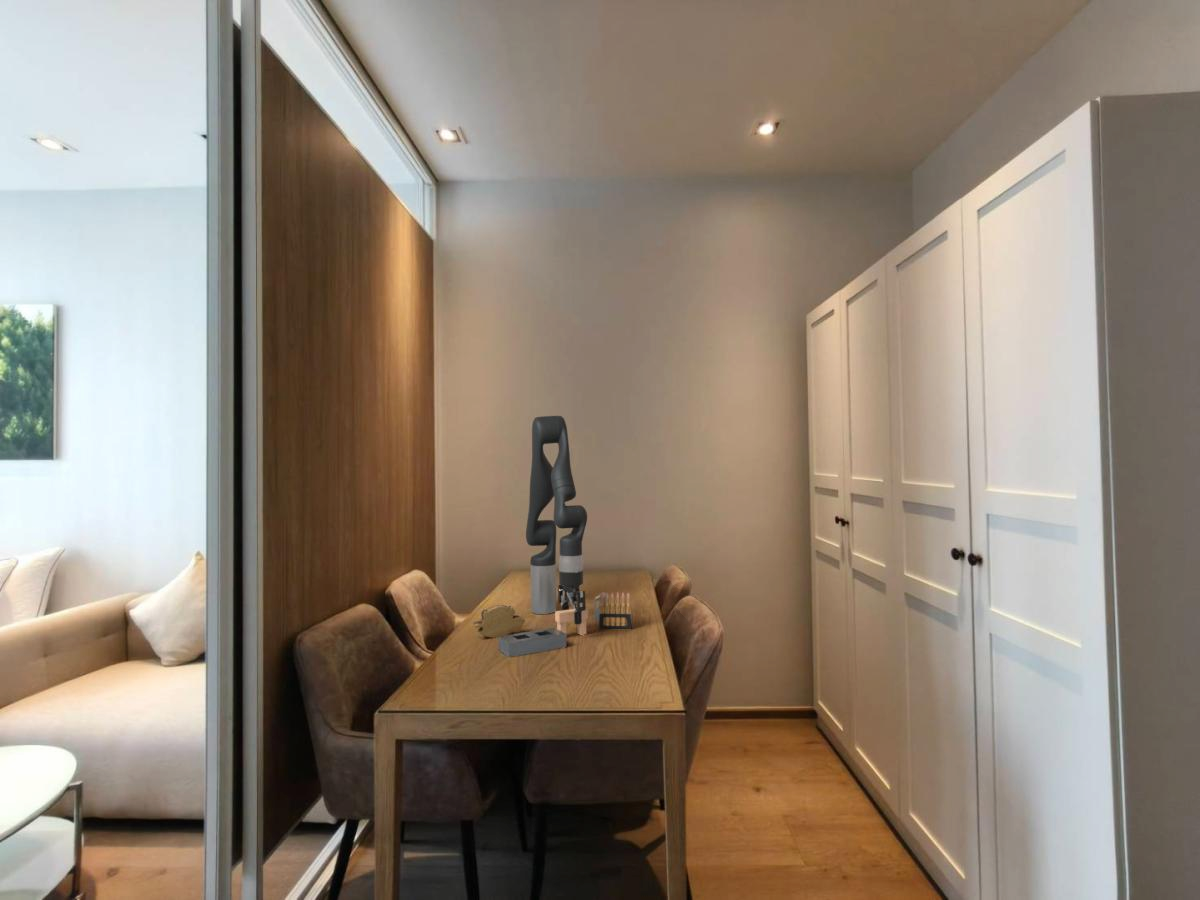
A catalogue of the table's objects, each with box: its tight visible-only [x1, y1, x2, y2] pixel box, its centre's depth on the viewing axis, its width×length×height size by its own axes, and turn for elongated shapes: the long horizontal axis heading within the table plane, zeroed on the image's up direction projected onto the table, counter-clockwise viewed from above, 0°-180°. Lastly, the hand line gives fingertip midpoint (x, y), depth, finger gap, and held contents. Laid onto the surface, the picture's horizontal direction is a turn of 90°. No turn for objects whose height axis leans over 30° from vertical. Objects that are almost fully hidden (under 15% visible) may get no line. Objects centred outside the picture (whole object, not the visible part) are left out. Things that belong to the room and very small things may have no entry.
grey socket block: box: [498, 627, 567, 658], centre depth 188 cm, size 8×18×4 cm, turn 120°
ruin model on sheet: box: [593, 592, 607, 620], centre depth 225 cm, size 11×3×10 cm, turn 168°
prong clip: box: [554, 608, 589, 639], centre depth 201 cm, size 3×10×8 cm, turn 120°
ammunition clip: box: [598, 591, 633, 630], centre depth 209 cm, size 11×2×12 cm, turn 84°
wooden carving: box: [473, 604, 526, 639], centre depth 201 cm, size 16×5×10 cm, turn 123°
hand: (571, 620), depth 201 cm, fingers open, 8 cm apart
